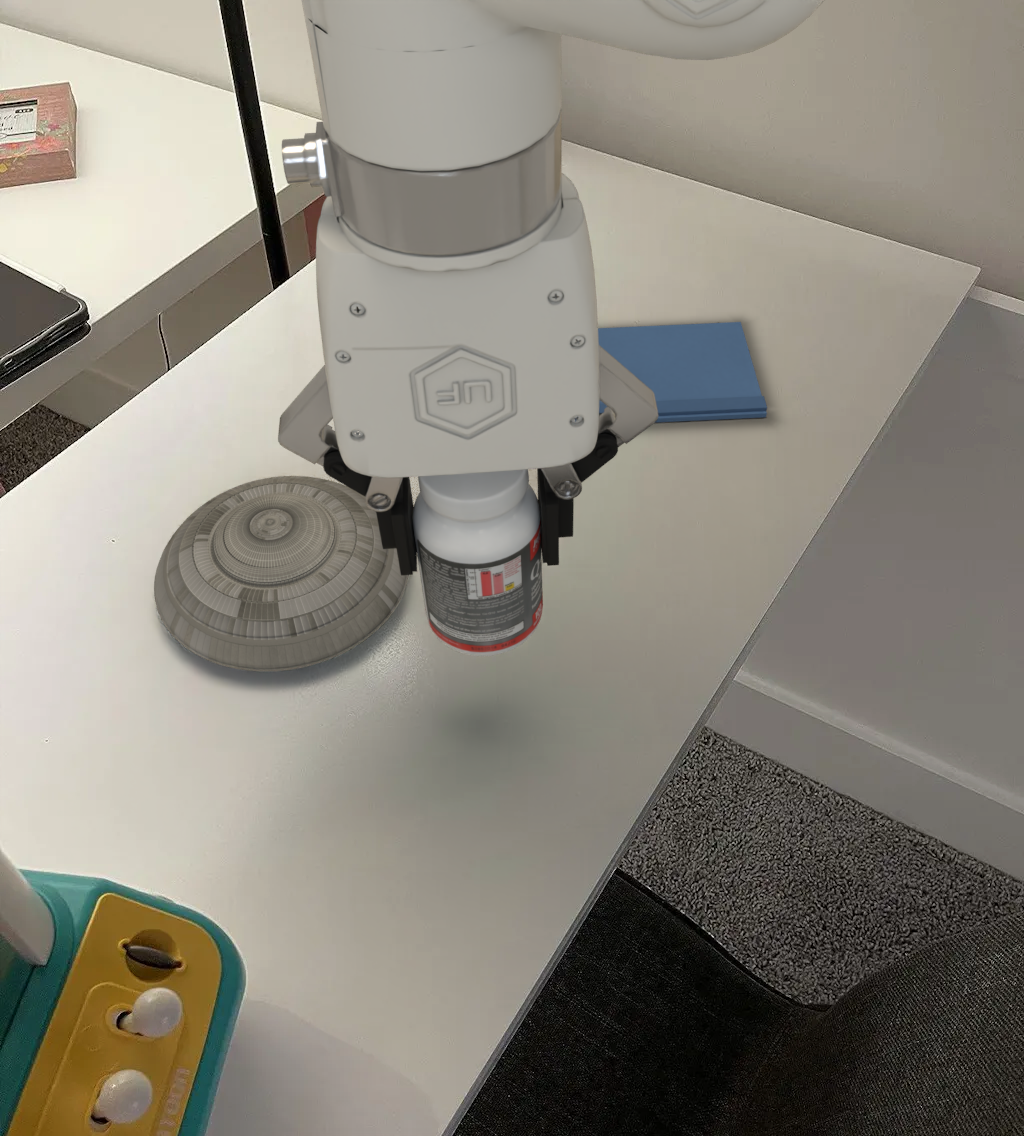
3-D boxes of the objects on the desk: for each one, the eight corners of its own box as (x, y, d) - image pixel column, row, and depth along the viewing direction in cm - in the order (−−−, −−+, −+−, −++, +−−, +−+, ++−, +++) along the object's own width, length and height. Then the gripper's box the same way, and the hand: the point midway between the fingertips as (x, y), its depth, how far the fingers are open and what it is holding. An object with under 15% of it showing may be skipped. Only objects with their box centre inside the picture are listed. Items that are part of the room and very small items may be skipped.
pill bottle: (561, 639, 54) (561, 487, 46) (450, 676, 53) (430, 527, 45) (516, 558, 57) (510, 403, 49) (411, 591, 56) (386, 438, 48)
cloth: (739, 326, 82) (741, 318, 82) (766, 417, 76) (767, 409, 76) (562, 334, 82) (562, 325, 81) (574, 426, 76) (574, 418, 75)
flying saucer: (325, 724, 62) (310, 663, 57) (108, 630, 66) (78, 566, 61) (456, 544, 70) (451, 478, 65) (254, 470, 74) (237, 403, 69)
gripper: (169, 249, 35) (285, 624, 49) (728, 213, 35) (679, 597, 49) (196, 125, 39) (295, 502, 54) (691, 93, 39) (656, 478, 54)
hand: (478, 544), depth 51 cm, fingers closed on pill bottle, 5 cm apart
